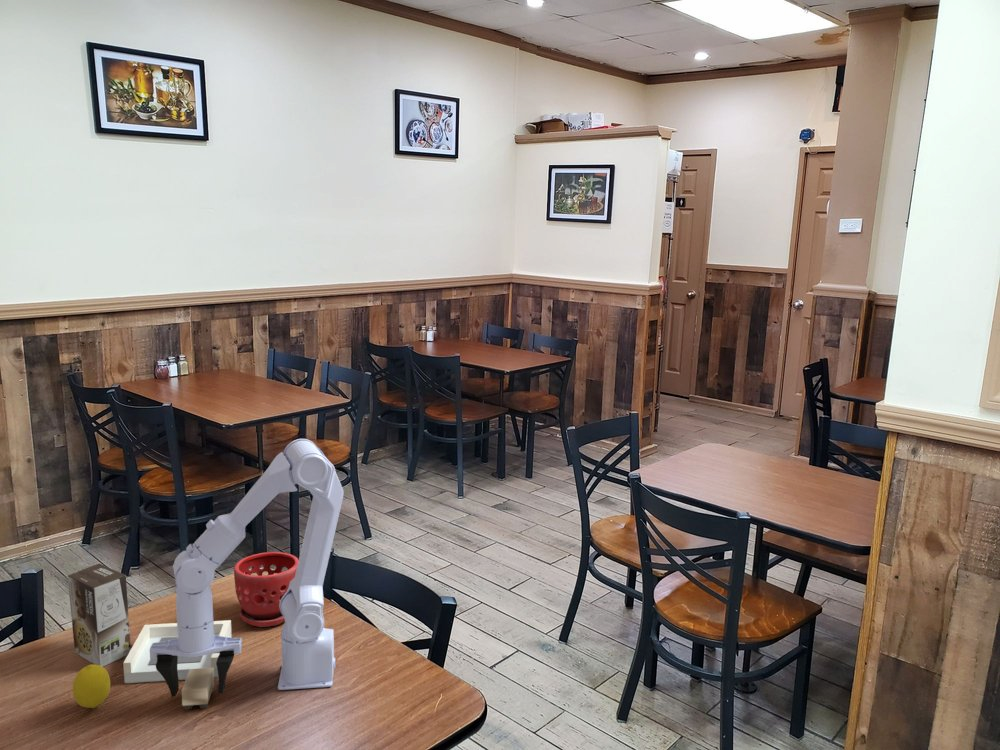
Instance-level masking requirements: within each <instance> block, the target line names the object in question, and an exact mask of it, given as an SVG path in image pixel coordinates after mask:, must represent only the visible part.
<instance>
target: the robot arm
mask: <svg viewBox="0 0 1000 750" xmlns="http://www.w3.org/2000/svg"><path fill="white" fill-rule="evenodd" d="M296 485H298V486H300V488H301V487H302V488H303V489H304V490H307V491H309V492H310V494H311V495H312V499H311V505H310V509H309V513H308V518H307V523H306V526H305V531H304V535H303V538H302V539H303V541H302V544H301V548H300V554H299V557H298V560H299V561H298V565H297V570H296V574H295V578H294V579H292V580H291V581H290V584H289V588H288V590H287V592H286V593H285V594H284V595H283V597H282V598H281V601H280V606H279V607H280V611H281V613H282V615H283V617H284V619H285V622H284V624H283V627H282V628H281V631H280V632H281V633H280V634H281V670H280V675H279V679H278V685H277V690H279V691H285V690H286V691H287V690H298V689H299V690H300V689H313V688H314V689H315V688H328V687H333V682H334V679H333V678H334V670H335V669H336V657H335V636H334V635H335V632H334V631H335V630H334V628H325V618H324V614H323V612H324V611H323V609H324V605H325V604H324V602H325V601H324V590H323V588H324V587H323V586H324V581H325V578H326V577H325V576H326V572H327V568H328V564H329V559H330V556H331V551H332V547H333V543H334V538H335V535H336V534H335V533H336V529H337V525H338V521H339V516H340V513H341V507H342V503H343V499H344V492H345V491H344V488H343V485H342V483H341V482H340V478H339V477H338V474H337V472H336V468H335V466H334V464H333V463H332V462H331V461H330V460H329V459H328V458H327V457H326V455H325V454H324V452H323V451H322V450H321V449H320V448H319V447H318V446H317V444H315V443H314V442H313V441H312V440H310V439H307V438H297V439H295V440H293V441H291V442H289V443H288V444H287V445H286V447H285V448H284V450H283V451H281V452H280V453H278V454H277V455H276V456H275V458H273V460H272V461H271V463H270V464H269V466H268V467H267V468H266V470H264V472H263V473H262V474H261V476H260V477H259V478H258V479H257V480H256V482H255V483H254V484H253V485H252V487H251V488H250V489H249V490H248V492H247V493H246V494H245V495H244V497H243V498H242V499H241V500H240V501H239V503H238V504H237V505H236V506H235V507H234V509H233V510H232V511H231V512H230V513H227V514H226V513H225V514H221V515H218V516H217V517H216V518H215V519H214V520H213V519H210V520H209V521H207V523H206V524H205V526H206V527H205V528H206V529H205V530H204V532H203V533H202V534H200V536H199V537H198V538H197V539H196V540H195V541H194V543H189V544H188V545H187V546H186V549H185V550H182V551H181V552H180V553H179V554H178V555H177V556H176V558H175V559H174V562H173V565H172V571H173V573H174V574H173V575H174V580H175V583H176V586H175V594H176V595H175V611H176V613H175V614H176V623H177V633H178V638H177V639H173V640H168V641H163V642H156V643H152V645H151V647H150V659H157V663H156V669H157V671H158V672H159V673H160V674H161V675H162V676H163V678H164V679H165V683H166V684H167V687H168V689H169V693H170V695H171V697H172V698H175V697H177V695H178V692H179V688H180V687H179V686H180V685H179V684H180V680H178V671H177V663H178V656H182V657H198V656H203V655H207V654H212V653H220V654H219V656H218V659H217V662H216V665H217V670H218V677H217V678H218V684H217V691H218V694H219V695H220V694H223V693H224V691H225V688H226V680H227V674H228V672H229V670H230V667H231V665H232V663H233V661H234V657H235V655H241V652H242V649H243V642H242V641H243V638H242V637H232V638H230V637H223V636H216V635H214V622H213V621H214V606H213V605H214V603H213V592H212V589H211V585H212V584H213V581H214V580H215V571H216V570H217V569H218V568H219V567H220V566H221V565H222V564H223V563H224V561H226V560H227V558H228V557H229V556H230V555H231V554H232V553H233V551H235V550H236V548H237V547H238V546H239V545H240V544H241V543H242V542H243V540H244V539H245V538H246V526H248V524H250V523H251V521H253V520H254V519H255V518H256V517H257V516H258V514H260V512H261V511H263V509H264V508H266V506H268V504H269V503H271V501H273V500H274V499H275V498H276V496H277V495H278V494H280V493H291V492H293V493H294V492H297V491H298V488H297V487H296Z"/></svg>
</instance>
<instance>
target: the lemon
mask: <svg viewBox="0 0 1000 750" xmlns="http://www.w3.org/2000/svg"><path fill="white" fill-rule="evenodd" d="M104 667H105V666H103V667H102V666H100V665H95V664H93V663H92V664H91V663H90V664H88V665H86V666H84V667H82V668H81V669H80V670H79V671H78V672H77V673H76V675H75V677H74V680H73V683H72V694H73V698H74V700H75V701H76V703H77V704H78V705H79V706H80V707H82V708H89V709H90V708H91V709H95V708H96V707H97V706H99V705H101V704H102V703H103V702H104V701H105V700H106V699H107V698H108V696H109V693H110V690H111V678H110V675H109V673H108V671H107V669H106V668H104Z"/></svg>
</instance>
